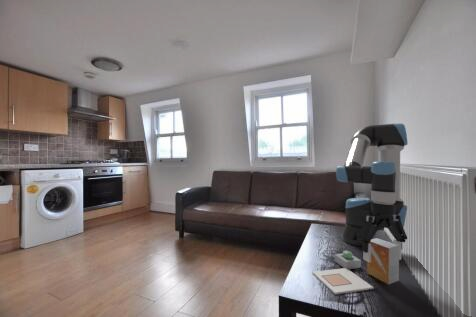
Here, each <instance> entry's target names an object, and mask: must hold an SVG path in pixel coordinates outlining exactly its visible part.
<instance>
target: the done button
mask: <svg viewBox="0 0 476 317" xmlns="http://www.w3.org/2000/svg"><path fill="white" fill-rule="evenodd" d="M342 253H343V258H345V259H348V260H349V259H352V255H353V253H352V252H351V251H349V250H343V251H342Z"/></svg>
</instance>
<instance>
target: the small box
mask: <svg viewBox="0 0 476 317" xmlns="http://www.w3.org/2000/svg"><path fill="white" fill-rule="evenodd" d="M369 244H371V263H369V262H367V261H366V274H367V275H369V276H371V275H372V277H373V276H374V277H373V278H375V279H378V280H379V281H381V282H383V283H385V284H386V285H391V284H394V283H396V282H398V281H399V279H400V278H399V277H400V275H399V274H400V272H399V271H400V260H399V245H396V244H393V242H390V241H387V240H384V239H381V238H378V237H377V238H374V239H372V240H371V241H370V243H369Z"/></svg>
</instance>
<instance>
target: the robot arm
mask: <svg viewBox="0 0 476 317" xmlns="http://www.w3.org/2000/svg"><path fill="white" fill-rule="evenodd" d="M407 135H408V134H407V130H406V126H405V124H404V123H394V122H393V123H387V124H376V125H375V124H374V125H373V124H372V125H368V126H367V125H366V126H364V127H362V128H361V129H358V130H357V131H356V133H354V134H353V136H352V137H351V140H350V148H349V151H348V154H347V156H346V159H345V162H344V165H337V168H336V170H335V176H336V181H338V182H341V183H350V184H351V183H352V184H353V183H354V184H363V185H364V184H366V185H371V187H370V189H371V192H370V197H371V198H368V197H352V198H351V197H350V198H348V199H346V201H345V226H344V229H343V232H342V234H341V239H342V241H343V242H345V243H347V244H349V245H352V246H357V247H361V250H362V255H363V256H362V257H363V258H362V259H363V261H365V262H366V263H367V262H369V263H371V244H369V243H370V241H371V240H372V239H375V238H374V237H375V235H376V233H377V232H378V231H380V230H381V229H385V228H386V229H387V230H388V231H389V232H390V234H391V235H392V237H393V238H394V239H392V243H393V244H396V245H399V261H400V260H402V250H403V243H406V240H408V236H407V233H406V231H405V228H404V227H405V223H406V218H407V217H406V216H407V211H408V206H407V205H406V204H404V202H405V201H404V200H402V198H401V152H402V151H403V150H404V149H405V146H407V145H408V136H407ZM370 147H376V150H378V151H379V152H380V153H379V155H380V156H379V161H373V162H372V163H371V166H368V165H367V166H365V165H364V162H365V157H366V154H367V150H368V148H370Z"/></svg>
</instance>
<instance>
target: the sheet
mask: <svg viewBox="0 0 476 317" xmlns="http://www.w3.org/2000/svg"><path fill="white" fill-rule="evenodd" d="M312 274H313V276H314V277H315V278H316V279H318V280H319V281H320V283H322V284H323V285H324V286H325V287H326V288H327V289H328V290H329V291H330V292H331V293H333V295H342V294H347V293H356V292H361V291H369V289H370V290H375V288H374V286H373V285H371V284H369V283H368V282H367V281H365V279H363V278H361V277H359V275H357V274H355V273H354V272H353V271H351V269H347V268H343V267H342V268H334V269H325V270H316V271H312Z"/></svg>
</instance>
